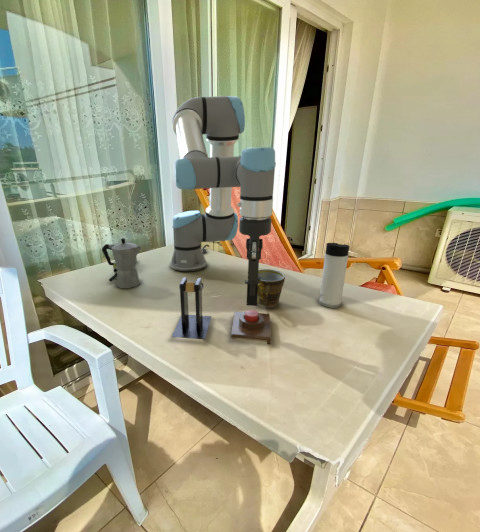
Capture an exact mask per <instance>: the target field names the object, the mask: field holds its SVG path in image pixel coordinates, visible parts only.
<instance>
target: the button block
mask: <svg viewBox="0 0 480 532" xmlns="http://www.w3.org/2000/svg"><path fill="white" fill-rule="evenodd" d="M245 312H246V311H234V312H233V320H232V326H231V333H230V338H232V339H233V338H234V339H244V340H245V339H246V340H255V341H266V345H271V344H272V332H271V331H272V329H271V317H270V313H264V312H258V313H259V316H258V321H255V322H250V321H247V320H245Z"/></svg>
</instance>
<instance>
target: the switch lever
mask: <svg viewBox="0 0 480 532" xmlns="http://www.w3.org/2000/svg"><path fill="white" fill-rule="evenodd" d="M196 281H197V280H194V281H193V282H188V281H187V283H186V292H188V293H195V283H196ZM202 286H203V287H204V283H203V282H202ZM203 289H204V288H203ZM203 289H202V291H203Z"/></svg>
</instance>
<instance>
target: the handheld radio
mask: <svg viewBox="0 0 480 532" xmlns="http://www.w3.org/2000/svg"><path fill="white" fill-rule="evenodd" d="M112 263H114V265H112V268H113V269H112V270H113V275H112V276H110V278H109V279H108V281H109V282H113V281H114V280H115V279H116V280H117V265H116V262H115V260H114V261H112ZM136 263H138V258H137V256H136Z"/></svg>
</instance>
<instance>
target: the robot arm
mask: <svg viewBox="0 0 480 532" xmlns="http://www.w3.org/2000/svg"><path fill="white" fill-rule="evenodd" d="M244 107H245V106H244V105H243V101H242V99H241V97H239V96H235V95H234V96H233V95H216V96H196V97H195V96H194V97H192V98H190V99H187V100H186V101H184V102H183V103H181V104H180V105H179V106H178V107H177V108H176V110H175V112H174V114H173V117H172V130H173V132H174V134H175V136H176V138H177V145H178V150H179V152H178V153H179V158H177V159H176V160H175V161H174V180H175V186H176V188H177V189H179V190H191V191H192V190H202V189H209V206H208V207H206V208H205V213H202V212H201V211H200V210H188V211H183V212H179V213H177V214H174V216H173V218H172V230H173V231H172V233H173V252H172V256H171V260H170V267H171V269H172V270H174V271H177V272H188V273H189V272H197V271H200V270H202V269H204V268H205V267H206V266H207V260H206V257H205V255H204V254H206V253H207V249H205V248H206V247H208V248H209V247H210V245H209V244H204V246H202V243H210V242H226V241H233V240H234V238H235V237H236V235H237V233H238V231H239V233H240V234H242V235H244V236H248V237H249V238H246V242H245V250H246V259H247V260H248V264H247V265H248V266H247V280H244V284H245V285H246V306H250V307H257V306H258V302H257V294H258V280H260V277H258V270H260V269H259V268H260V260H261V259H262V250H263V248H264V247H263V245H264V242H263V238H260V237H263V236H267V235H269V234H270V233H271V232H272V217H271V216H272V215H273V206H274V185H275V183H274V182H275V172H276V165H277V162H276V150H275V148H274V147H271V146H268V147H267V146H265V147H245V148H243V149H241V153H240V155H237V156H234V153H235V144H236V143H237V142H238V141H239V139H240V135H241V134H243V133H244V132H245V128H246V116H245V115H246V114H245V108H244ZM203 135H205V136H206V138H205V139H206V141H207V143H209V144H210V145H209V146H210V149H209V150H210V151H209V152H210V155H208V151H207V147H206V144H205V141H204V136H203ZM232 188H239V192H240V194H239V199H240V200H239V202H237V207H238V208H239V216H240V218H239V217H238V214H237V213H236V212H235V209H234V208H233V207H232V190H233V189H232ZM201 213H202V214H201ZM238 228H239V229H238Z"/></svg>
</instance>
